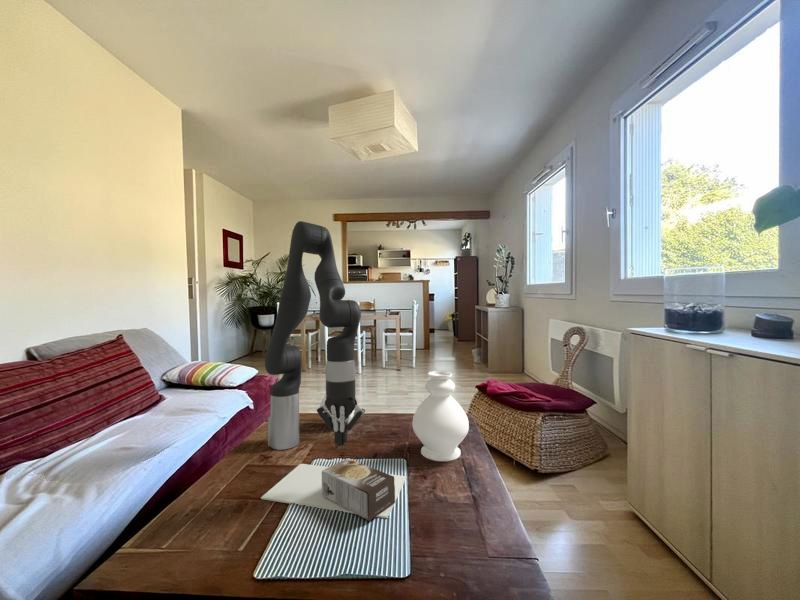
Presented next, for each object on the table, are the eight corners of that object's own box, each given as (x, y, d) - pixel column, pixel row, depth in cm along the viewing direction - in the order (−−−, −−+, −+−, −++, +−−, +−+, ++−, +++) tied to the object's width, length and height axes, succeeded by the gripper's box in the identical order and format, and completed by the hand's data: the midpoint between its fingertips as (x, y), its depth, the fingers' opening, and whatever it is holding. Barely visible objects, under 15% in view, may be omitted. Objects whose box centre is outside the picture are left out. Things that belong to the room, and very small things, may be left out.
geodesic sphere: (320, 421, 118) (341, 385, 124) (303, 412, 129) (323, 379, 135) (349, 439, 126) (368, 404, 132) (331, 428, 137) (349, 396, 143)
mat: (261, 499, 82) (261, 497, 82) (300, 464, 99) (300, 463, 99) (387, 518, 74) (387, 516, 74) (406, 477, 91) (406, 476, 91)
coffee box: (348, 456, 89) (395, 475, 79) (348, 481, 89) (396, 502, 79) (320, 470, 82) (369, 492, 72) (320, 497, 82) (369, 522, 72)
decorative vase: (402, 457, 103) (402, 376, 104) (426, 437, 119) (425, 366, 119) (458, 470, 95) (458, 381, 95) (475, 447, 111) (474, 370, 111)
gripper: (310, 379, 85) (310, 448, 84) (359, 381, 81) (359, 454, 81) (324, 373, 92) (324, 437, 92) (369, 375, 89) (370, 441, 88)
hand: (341, 445), depth 86 cm, fingers closed
